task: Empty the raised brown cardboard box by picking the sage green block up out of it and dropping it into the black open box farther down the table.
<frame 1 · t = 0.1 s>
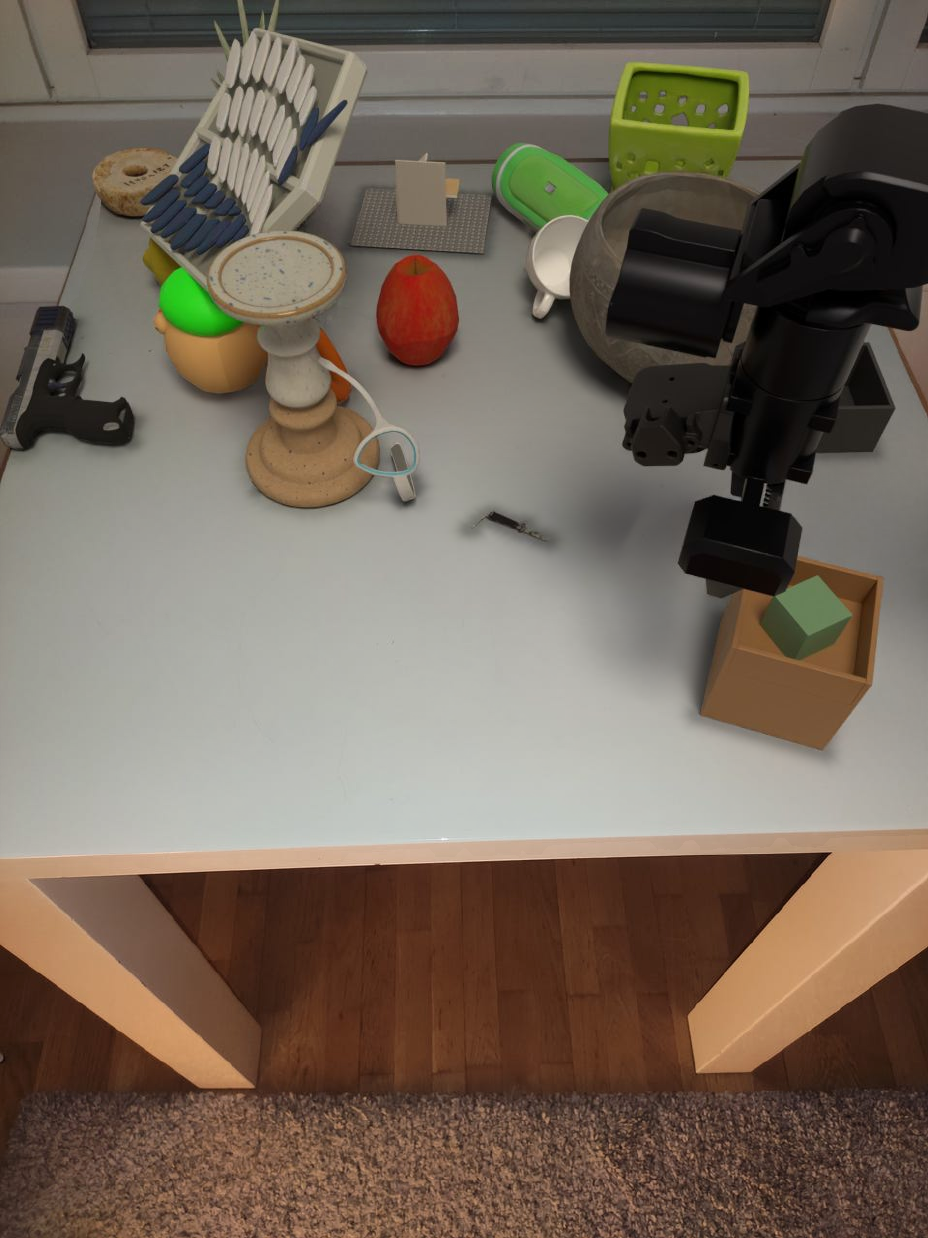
hand: (726, 543, 63), 13 cm above the table, tool pointing down, fingers open, 9 cm apart
cup: (546, 277, 98), point 1 cm above the table, touching bowl
apple: (419, 352, 93), on the table
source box: (769, 682, 72), on the table
candle holder: (314, 460, 85), on the table, touching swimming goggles
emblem: (310, 194, 71), point 22 cm above the table, touching lemon, potted plant
monkey figurine: (266, 345, 91), point 2 cm above the table
potted plant: (277, 213, 106), on the table, touching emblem
lemon: (205, 289, 99), on the table, touching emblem
stone disc: (164, 197, 105), point 2 cm above the table
flower pot: (660, 207, 107), on the table
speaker: (586, 177, 100), point 6 cm above the table
knife: (502, 544, 79), on the table
figurine: (223, 378, 91), on the table, touching orange flat curved piece
orange flat curved piece: (348, 388, 90), on the table, touching figurine
bowl: (664, 361, 92), on the table, touching cup
black open box: (827, 418, 88), on the table
handgun: (141, 367, 90), point 1 cm above the table
block: (796, 634, 66), point 7 cm above the table, touching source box
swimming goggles: (348, 445, 78), point 6 cm above the table, touching candle holder
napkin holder: (423, 221, 106), on the table
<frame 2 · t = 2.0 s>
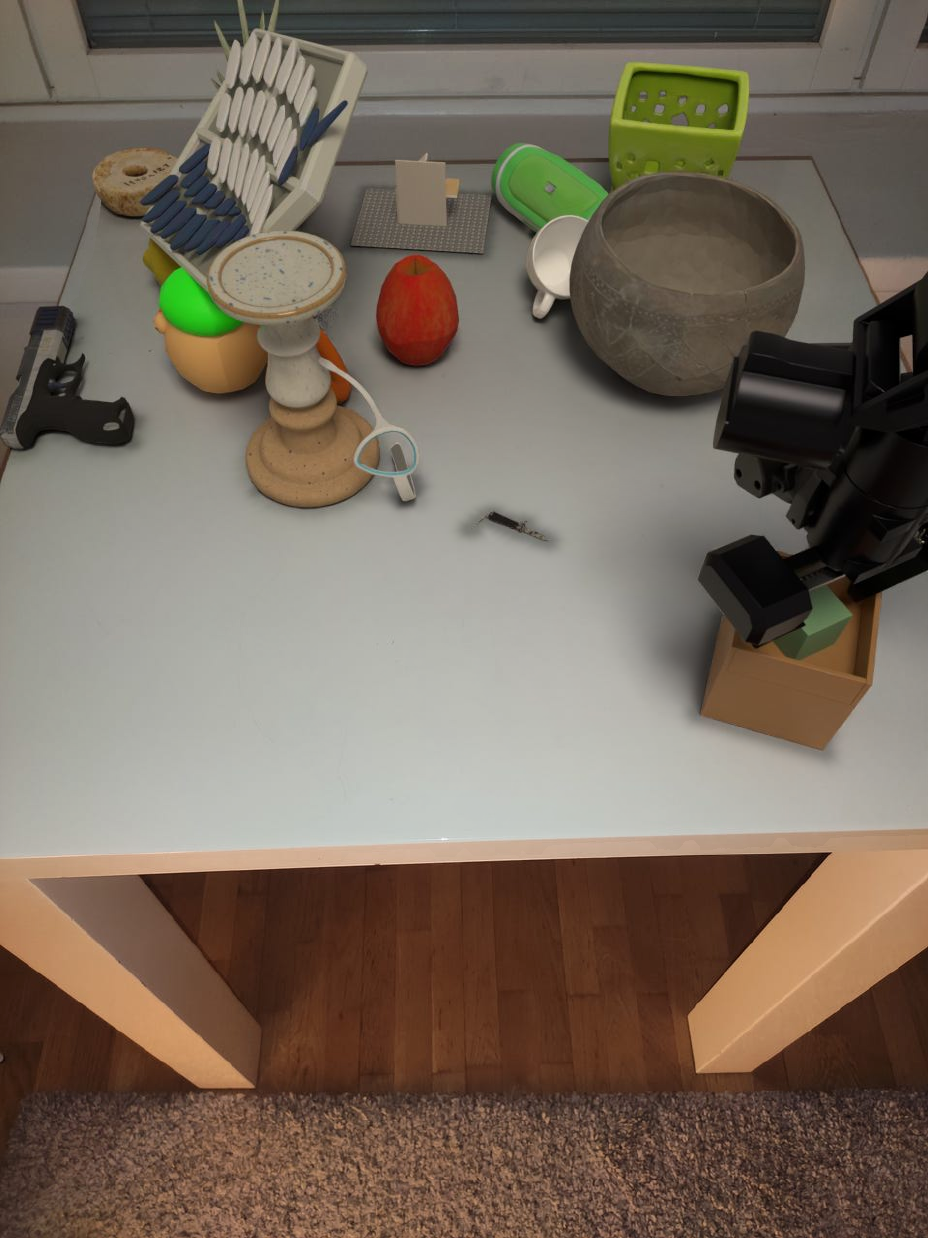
hand: (803, 619, 64), 9 cm above the table, tool pointing down, fingers open, 8 cm apart
nothing on the table moved.
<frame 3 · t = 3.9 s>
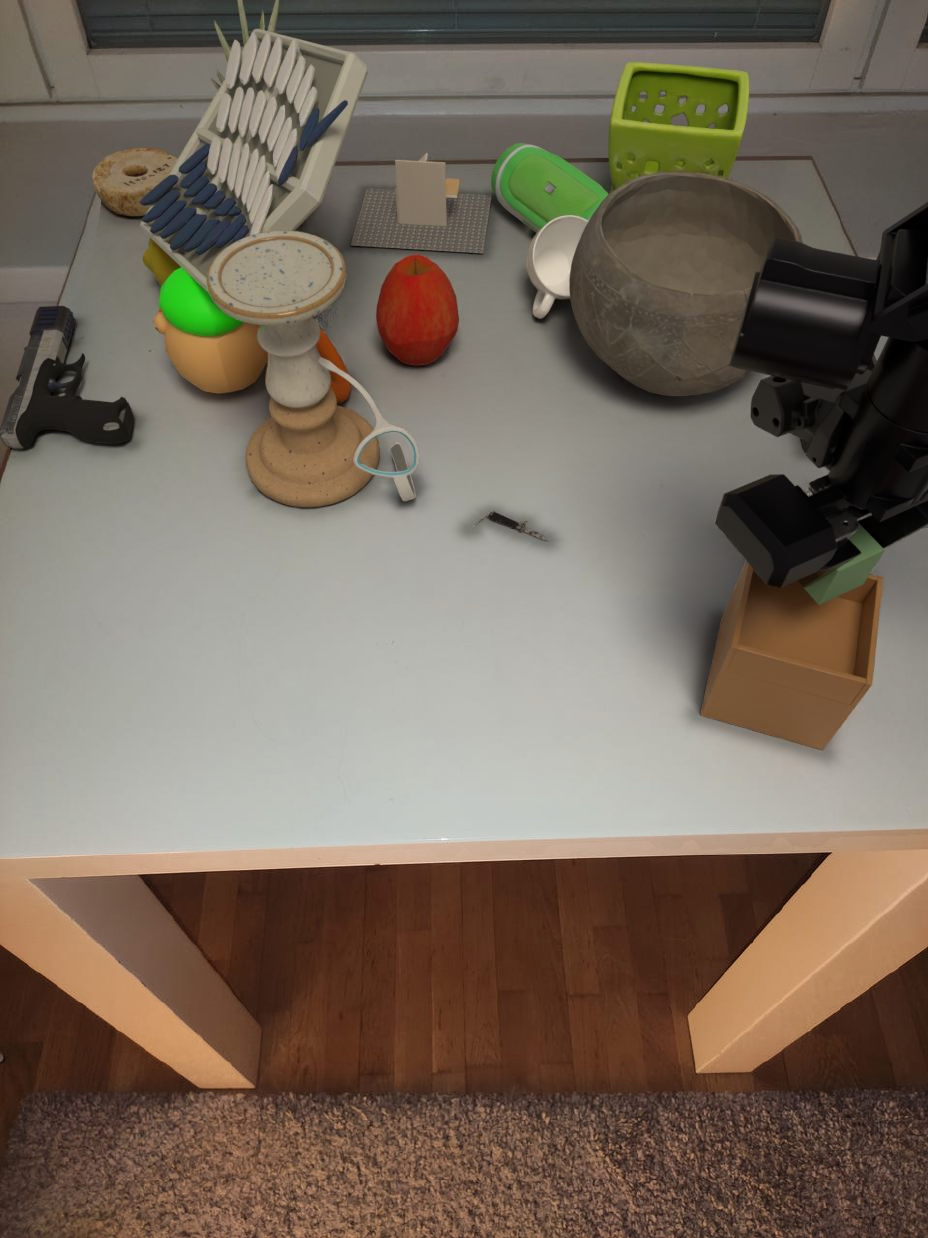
hand: (825, 570, 62), 13 cm above the table, tool pointing down, fingers closed on block, 4 cm apart
block: (823, 574, 62), point 12 cm above the table, touching gripper
everything else where it was.
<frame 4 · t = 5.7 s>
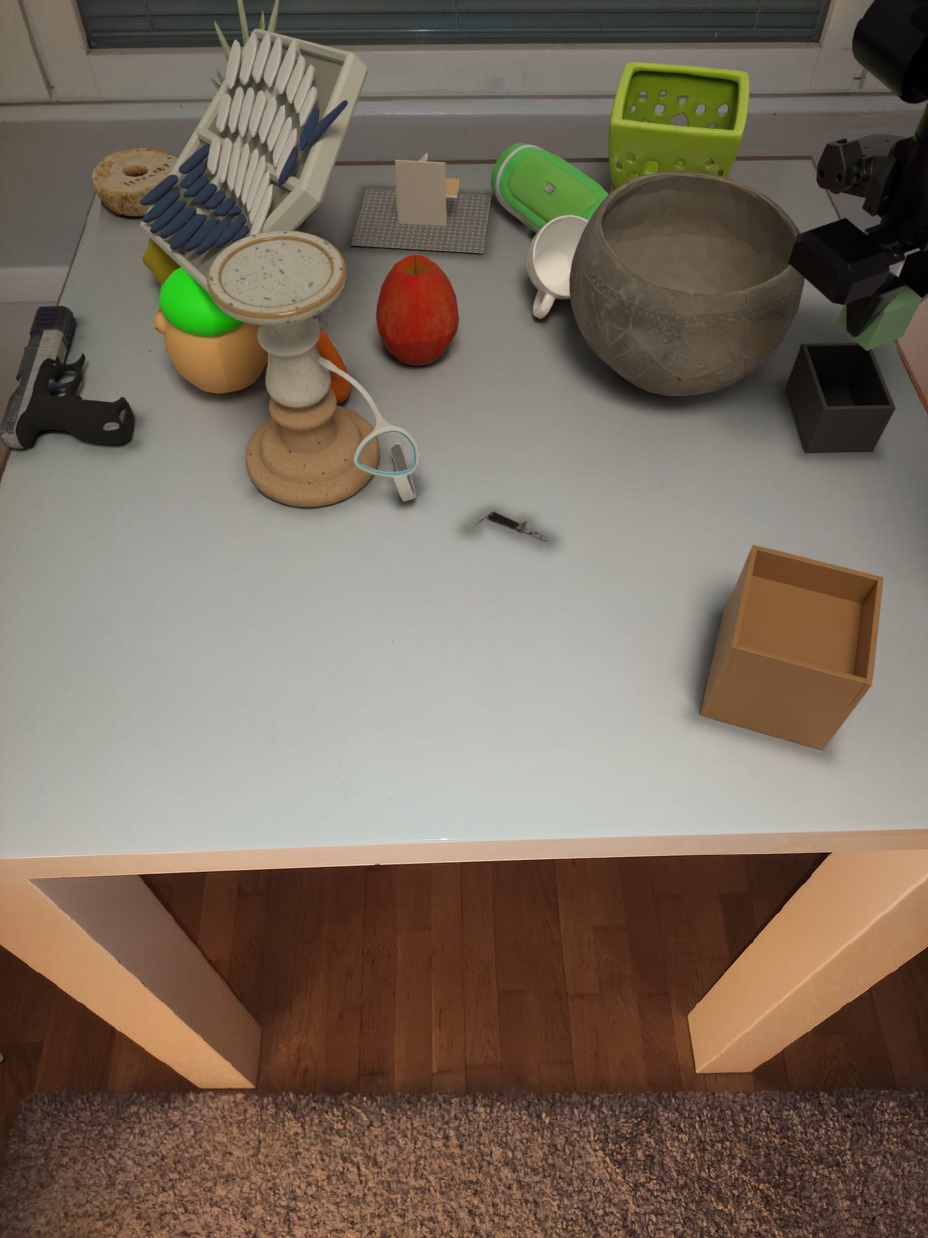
hand: (871, 325, 75), 13 cm above the table, tool pointing down, fingers closed on block, 4 cm apart
block: (869, 330, 75), point 13 cm above the table, touching gripper
everything else where it was.
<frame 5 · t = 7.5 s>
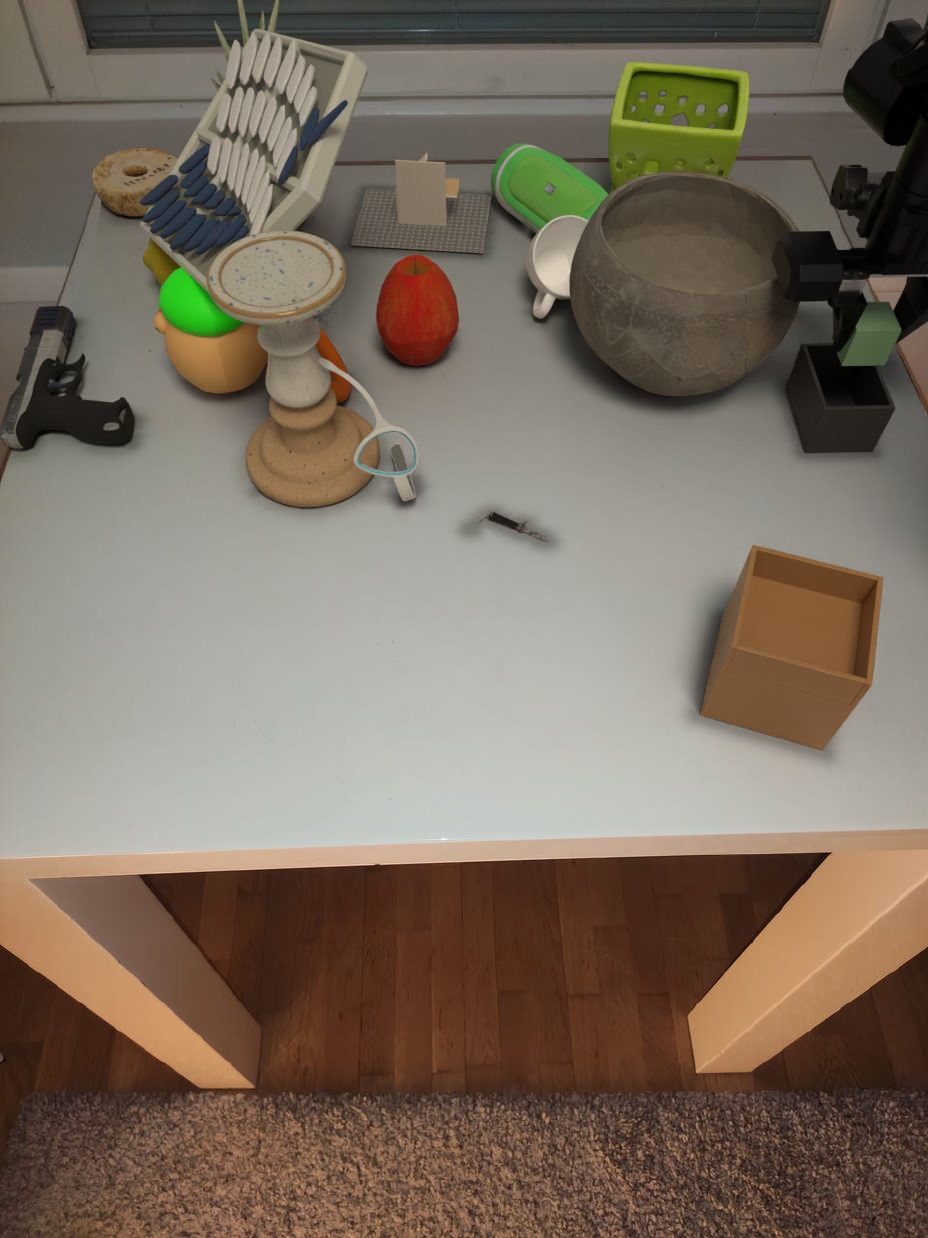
hand: (859, 348, 80), 9 cm above the table, tool pointing down, fingers closed on block, 4 cm apart
block: (857, 351, 81), point 8 cm above the table, touching gripper
everything else where it was.
when the fingers open (5 cm above the table, at t = 9.4 s): block stays where it is, resting on black open box.
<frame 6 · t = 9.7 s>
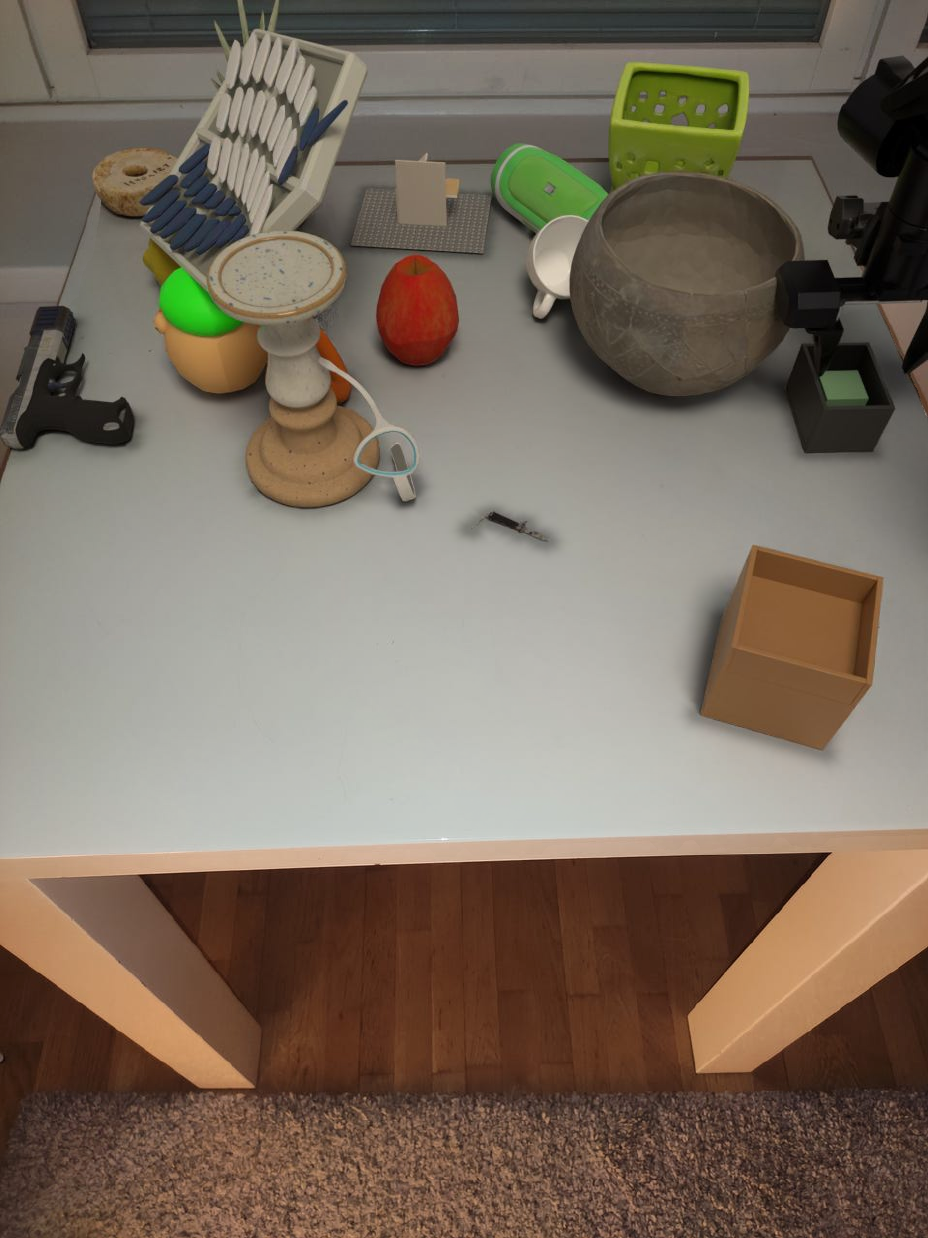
hand: (861, 372, 82), 6 cm above the table, tool pointing down, fingers open, 7 cm apart
cup: (546, 277, 98), point 1 cm above the table, touching bowl, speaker
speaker: (585, 177, 100), point 6 cm above the table, touching cup
bowl: (664, 361, 92), on the table, touching cup, gripper
block: (829, 414, 87), resting on black open box
everything else where it was.
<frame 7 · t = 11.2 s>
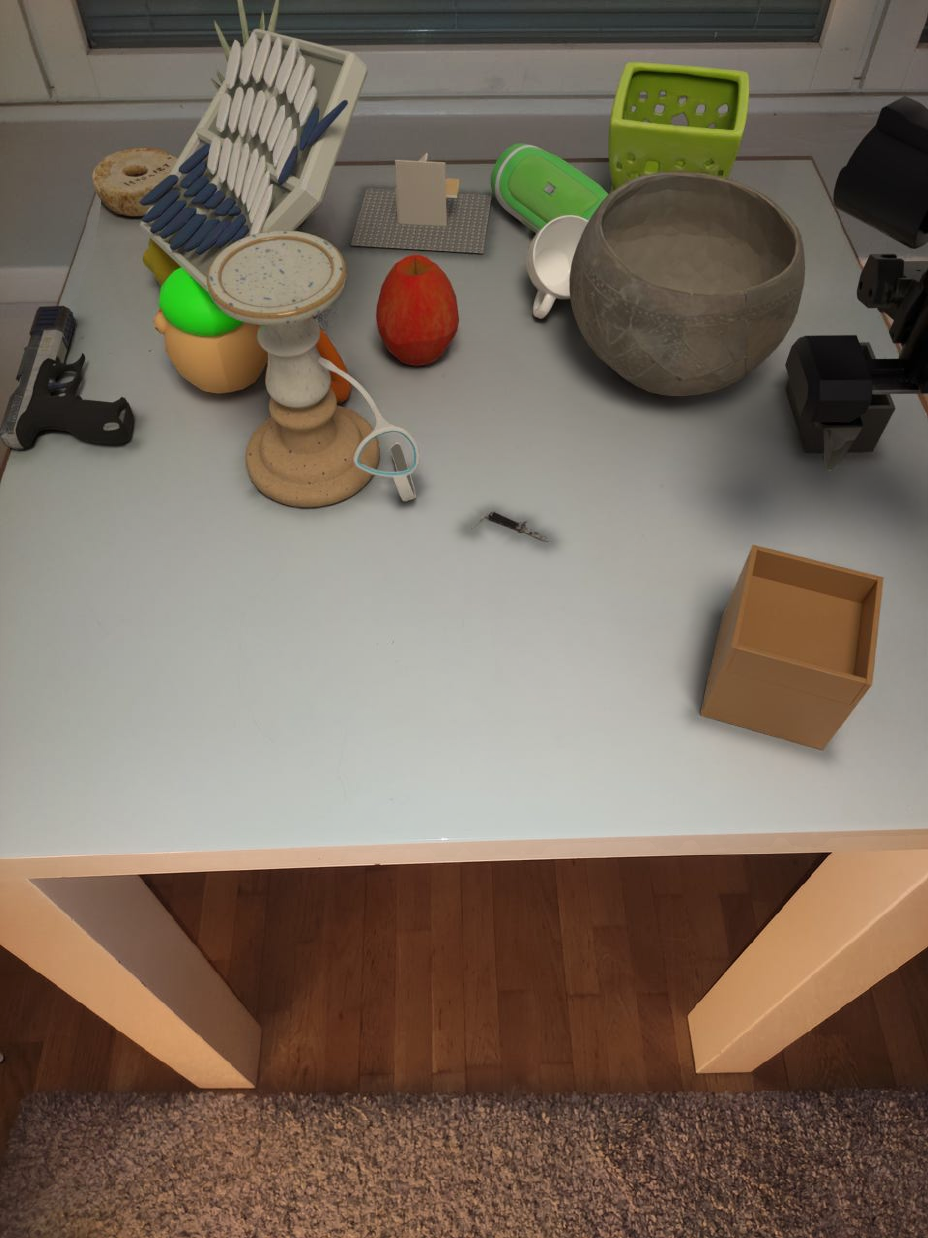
hand: (891, 465, 67), 13 cm above the table, tool pointing down, fingers open, 9 cm apart
bowl: (664, 361, 92), on the table, touching cup
everything else where it was.
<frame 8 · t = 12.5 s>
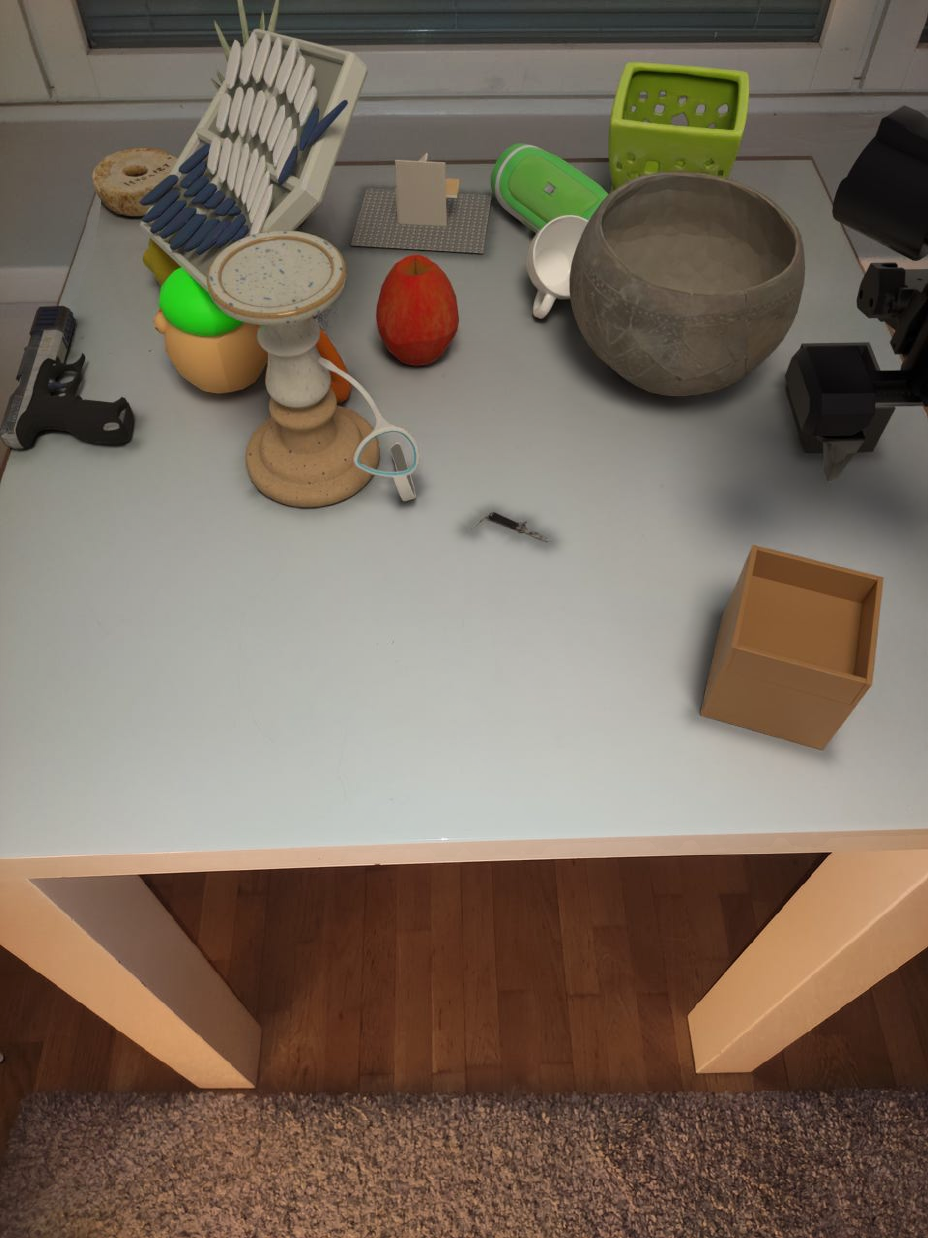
hand: (890, 476, 66), 13 cm above the table, tool pointing down, fingers open, 9 cm apart
cup: (546, 277, 98), point 1 cm above the table, touching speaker
bowl: (664, 361, 92), on the table
everything else where it was.
at the end: block inside the target area in the black open box (0.0 cm from its centre), point 0.5 cm above the black open box's base; the gripper is holding nothing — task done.
